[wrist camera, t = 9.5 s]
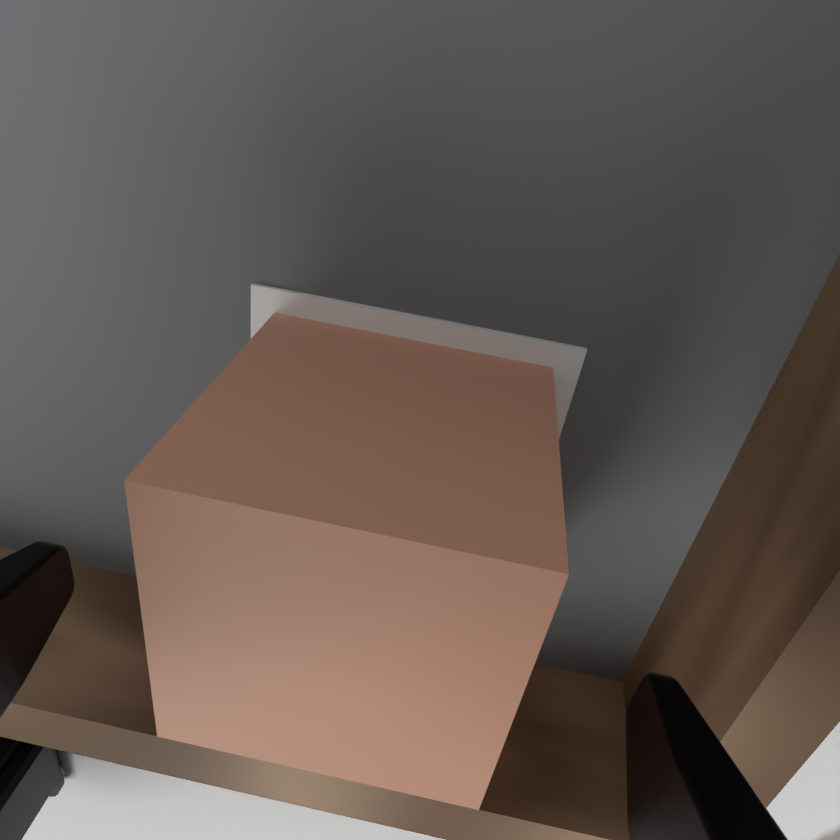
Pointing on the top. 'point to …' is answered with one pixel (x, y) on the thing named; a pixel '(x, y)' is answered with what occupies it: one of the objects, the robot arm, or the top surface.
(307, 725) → the cube
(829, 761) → the top surface
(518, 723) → the corner walls
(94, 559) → the mat
